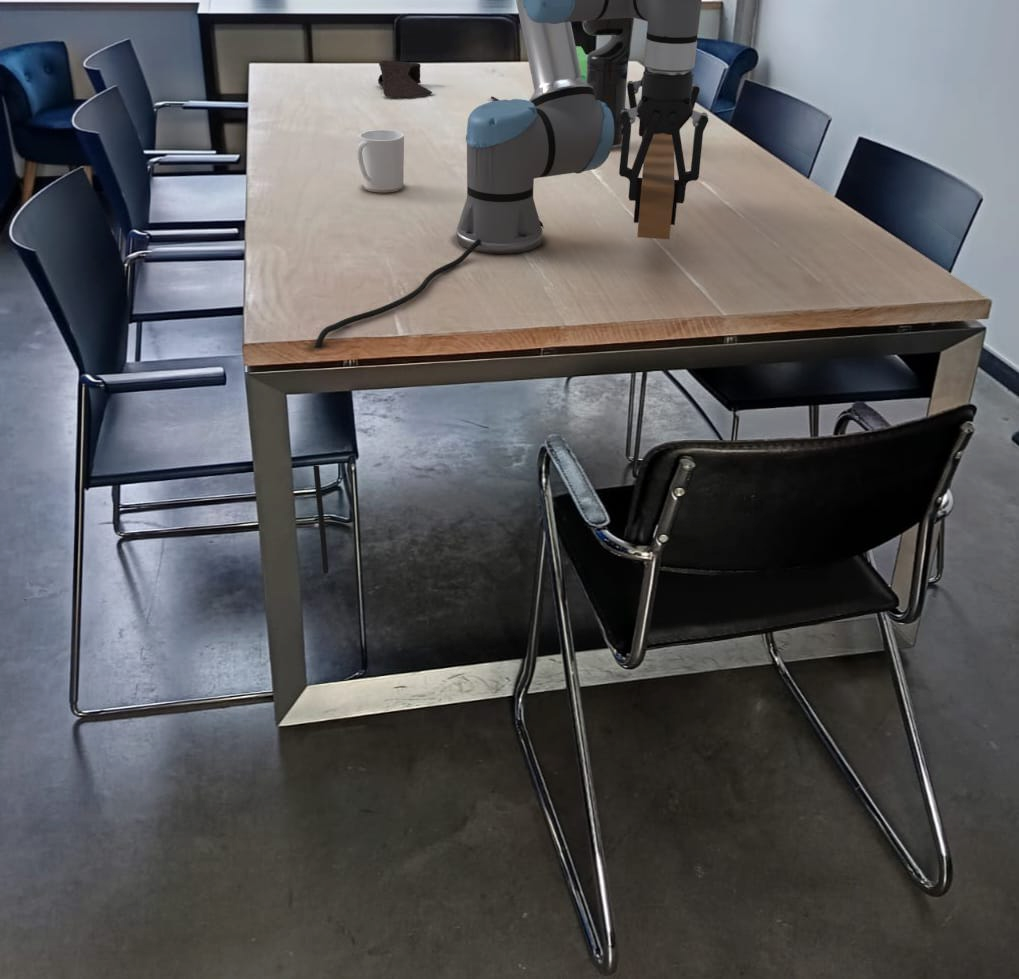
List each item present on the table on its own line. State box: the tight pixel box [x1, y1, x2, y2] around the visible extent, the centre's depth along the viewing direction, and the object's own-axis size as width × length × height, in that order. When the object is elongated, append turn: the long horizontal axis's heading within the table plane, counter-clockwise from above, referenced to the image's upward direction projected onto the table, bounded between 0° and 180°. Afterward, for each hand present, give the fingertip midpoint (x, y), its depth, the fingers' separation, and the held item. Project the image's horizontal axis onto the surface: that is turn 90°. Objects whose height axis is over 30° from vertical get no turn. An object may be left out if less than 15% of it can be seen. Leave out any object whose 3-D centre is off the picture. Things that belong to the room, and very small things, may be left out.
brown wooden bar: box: [636, 133, 675, 240], centre depth 192 cm, size 55×5×8 cm, turn 173°
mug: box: [356, 129, 405, 194], centre depth 219 cm, size 11×9×10 cm
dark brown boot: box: [377, 59, 433, 99], centre depth 299 cm, size 18×8×15 cm
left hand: (654, 220), depth 176 cm, fingers closed on brown wooden bar, 5 cm apart
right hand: (658, 138), depth 210 cm, fingers closed on brown wooden bar, 5 cm apart
